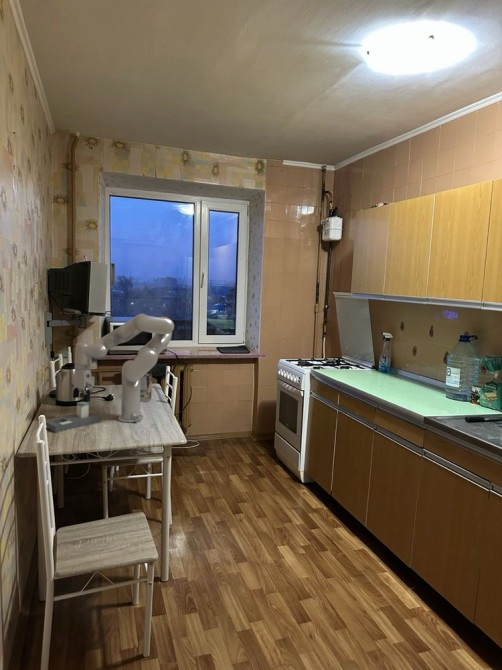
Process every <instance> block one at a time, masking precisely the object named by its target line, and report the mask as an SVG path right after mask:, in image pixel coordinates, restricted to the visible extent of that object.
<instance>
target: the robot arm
mask: <svg viewBox="0 0 502 670" xmlns="http://www.w3.org/2000/svg"><path fill="white" fill-rule="evenodd" d="M174 330H175V324H174V321H173V320H172V319H171V318H168V316H160V317H159V316H153V315H147V314H146V313H138V314H136V315H135V316H133V317H132V318H131V319H129V320H127V321H125V323H123V324H122V325H120V326H118V327H117V328H115V329H113V330H112V331H111V332H109V333H107V334H106V335H104V336H102V337H101V338H99V339H98V340H96V341H95V342H94V343H90V342H84V341H83V342H81V341H80V342H77V343H76V344H75V351H74V352H75V353H74V371H73V379H72V380H71V387H72V398H73V399H78V398H80V390H81V391H83V392H84V394H83V402H87V403H89V402H90V401H91V394H92V391H93V388H94V387H93V384H92V383H93V377H92V370H91V365H92V364H91V362H92V358H93V359H103V358H104V357H105V356H106V355H107V354H108V352H109V351H110V350H111V349H113V348H114V347H116V346H118V345H119V344H123V343H127V342H129V341H130V340H131V339H133V338H135V337H136V336H138V335H139V334H140V333H142V332H144V333H145V332H146V333H149V334H150V333H151V334H154V336H153V337H152V338H151V339H150V340H149V341H148V342H147V343H146V344H145V345H144V346H143V347H141V348H140V349H139V351H138V352H137V356H136V357H135V358H134V359H131V360H129V359H128V360H127V361H125V362H124V363H123V365H122V367H121V412H120V415H119V416H118V417H117V418H118V421H120V422H123V423H137V422H140V421H142V420H143V418H144V415H143V414H142V413H141V402H140V379H141V378H142V377H143V376H144V375H145V374H146V373H148V372H149V371H150V370H151V369H152V368H154V366H155V365H156V364H157V362H158V360H159V358H158V356H159V355H160V354H162V352H163V351H164V350H165V349H166V347H167V346H169V344H170V342H171V341H172V336H173V331H174Z"/></svg>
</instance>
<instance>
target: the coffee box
mask: <svg viewBox="0 0 502 670" xmlns="http://www.w3.org/2000/svg"><path fill="white" fill-rule="evenodd" d="M152 392H153V374H152V373H148V372H147V373H146V374H145V375H144V376H143V377H142V378H141V379H140V403H141V402H143V403H148V402H149V401H150V400H152V394H153V393H152Z"/></svg>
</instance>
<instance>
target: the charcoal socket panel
mask: <svg viewBox="0 0 502 670" xmlns="http://www.w3.org/2000/svg"><path fill="white" fill-rule="evenodd" d="M100 422H101V416H100V415H98V414H95V413H92V412H90V411H89V414H88V417H85V418H79V417H77V413H72V414H69V415H64V416H59V417H55V418H49V419H46V425H47V428H48V429H50V430H49V431H51V430H52V431H51V432H53V431H54V432H53V433H55V432H56V433H60V432H63V430H64V431H67V429H69V430H72V429H71V428H73V429H76V427H77V428H80V427H85V426H89V425H92V424H97V423H100ZM48 429H47V430H48ZM59 431H60V432H59Z"/></svg>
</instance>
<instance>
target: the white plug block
mask: <svg viewBox="0 0 502 670" xmlns="http://www.w3.org/2000/svg"><path fill="white" fill-rule="evenodd" d="M89 405H90V404H89V402H84V401H79V402H76V414H77V417H79V418H85V417H88V414H89V412H90V411H89V410H90V409H89V408H90V407H89Z"/></svg>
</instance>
